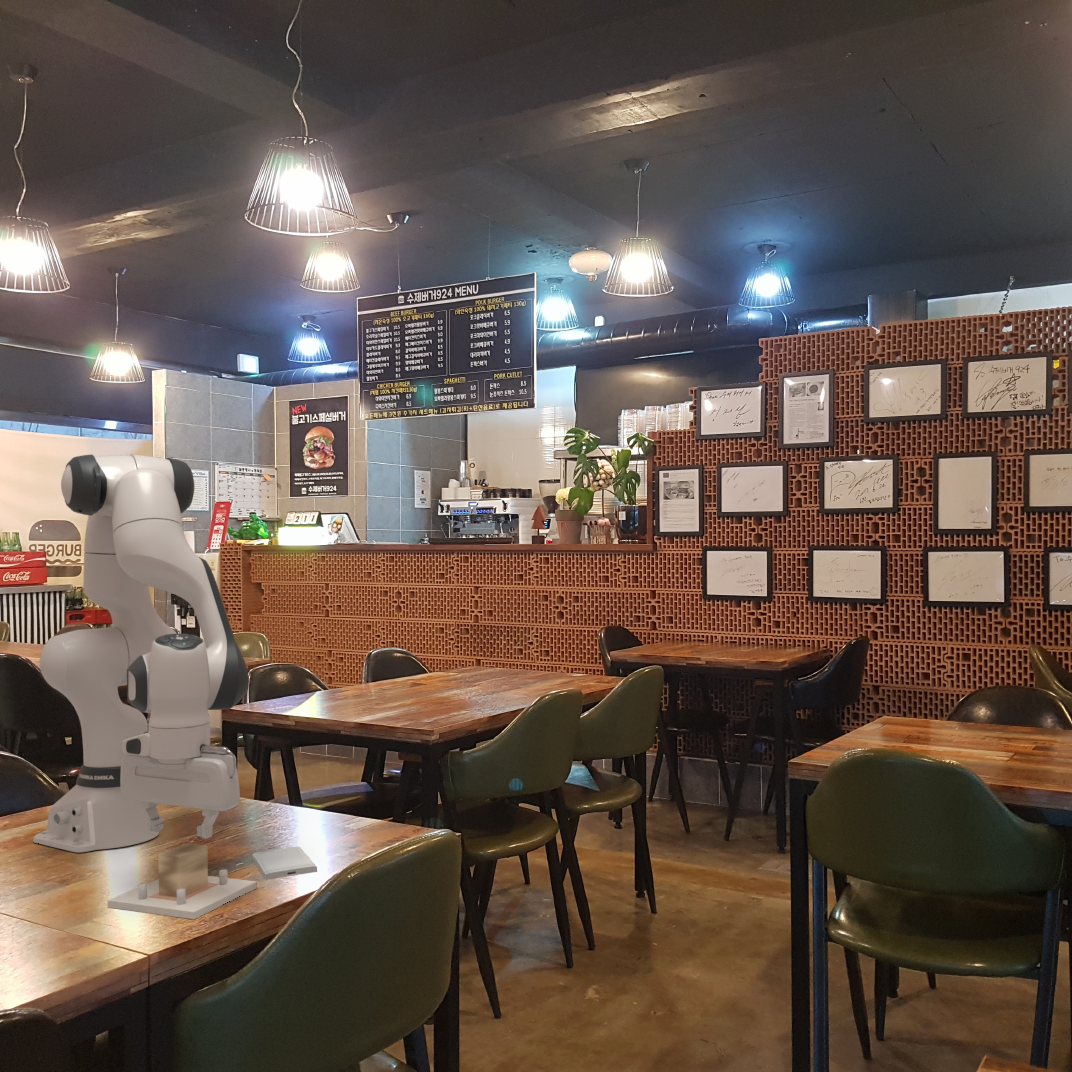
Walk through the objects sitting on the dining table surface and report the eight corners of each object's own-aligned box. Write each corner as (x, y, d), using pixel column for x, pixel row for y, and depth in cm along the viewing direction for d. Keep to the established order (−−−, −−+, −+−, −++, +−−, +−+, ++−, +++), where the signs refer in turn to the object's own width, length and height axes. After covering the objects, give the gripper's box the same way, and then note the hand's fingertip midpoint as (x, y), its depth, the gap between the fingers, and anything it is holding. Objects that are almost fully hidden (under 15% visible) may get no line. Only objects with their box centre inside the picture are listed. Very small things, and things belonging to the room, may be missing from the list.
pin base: (107, 907, 147) (107, 886, 147) (175, 878, 160) (174, 859, 160) (194, 919, 141) (193, 898, 141) (257, 888, 154) (256, 868, 154)
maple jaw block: (158, 895, 149) (158, 854, 149) (187, 882, 154) (186, 843, 154) (180, 897, 147) (179, 856, 147) (208, 885, 153) (207, 845, 153)
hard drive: (251, 853, 169) (265, 872, 158) (300, 845, 173) (317, 864, 162) (252, 862, 169) (265, 883, 158) (300, 855, 173) (317, 874, 162)
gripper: (249, 743, 150) (249, 835, 150) (143, 733, 158) (144, 821, 158) (220, 752, 144) (220, 847, 144) (112, 741, 152) (113, 832, 152)
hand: (179, 833), depth 151 cm, fingers open, 8 cm apart
